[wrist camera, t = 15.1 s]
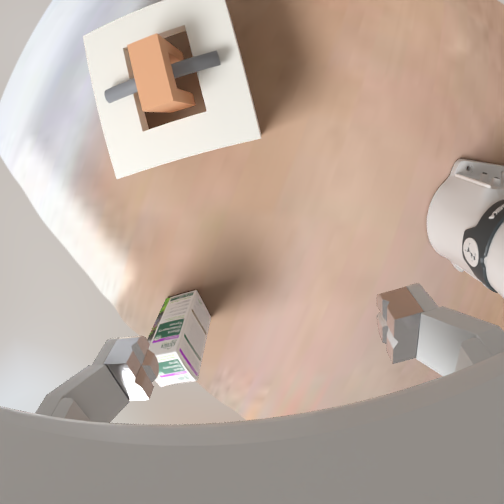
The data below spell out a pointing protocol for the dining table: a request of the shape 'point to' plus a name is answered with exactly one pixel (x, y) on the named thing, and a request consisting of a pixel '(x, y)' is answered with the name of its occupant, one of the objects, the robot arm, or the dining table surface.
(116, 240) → the dining table surface
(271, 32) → the dining table surface
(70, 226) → the dining table surface
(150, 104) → the notched wooden block
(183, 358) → the syrup box
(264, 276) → the dining table surface
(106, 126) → the shelf
